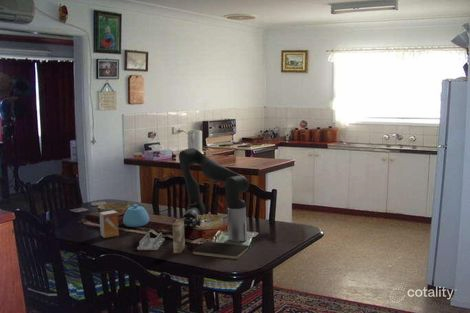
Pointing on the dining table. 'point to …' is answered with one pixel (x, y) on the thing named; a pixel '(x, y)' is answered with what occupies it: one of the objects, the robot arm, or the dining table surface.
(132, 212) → the sugar bowl
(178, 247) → the beige mottled box
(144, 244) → the grey plastic bag
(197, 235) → the dining table surface
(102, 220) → the small box
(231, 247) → the hardcover book
